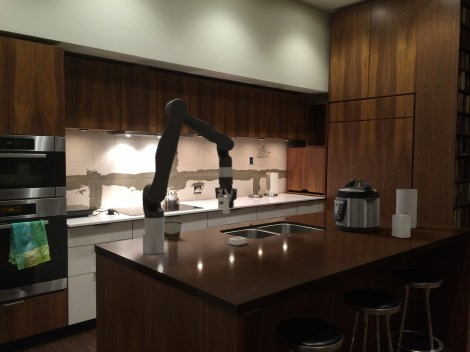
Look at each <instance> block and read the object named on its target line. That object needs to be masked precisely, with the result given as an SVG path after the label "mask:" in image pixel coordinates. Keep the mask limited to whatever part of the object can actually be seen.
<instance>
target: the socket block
mask: <svg viewBox="0 0 470 352" xmlns="http://www.w3.org/2000/svg"><path fill="white" fill-rule="evenodd" d="M247 238H248V237H243V236H234V237H229V238H228V245H229V244H230V246H234V245H235V247H238V246H239V247H240V246H242V245H246V243H247V244H248V239H247Z"/></svg>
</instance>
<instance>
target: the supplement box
mask: <svg viewBox="0 0 470 352" xmlns="http://www.w3.org/2000/svg"><path fill="white" fill-rule="evenodd" d="M391 220H392V221H391V236H393V237H396V238H400V239H402V238H411V229H412V228H411V216H409V215H403V214H397V215H396V214H392V216H391Z"/></svg>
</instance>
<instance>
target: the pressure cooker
mask: <svg viewBox="0 0 470 352" xmlns="http://www.w3.org/2000/svg"><path fill="white" fill-rule="evenodd" d="M356 183H359V184H360V185H361V186H354V185H355V184H356ZM335 195H336V196H335V198H334V204H333V218H334V220H335V224H336V225H335V226H336V227H337V228H338V229H339V230H342V231H347V232H353V233H365V232H367V233H368V232H376V231H378V230H379V227H380V226H381V194H380V191H379V190H377V189H374V188H373V187H372V185H371V184H369V183H367V182H365V181H364V180H360V179H354V180H353V179H352V180H351V181H348V182H346V183H345V186H344V187H343V188H339V189H337V193H336V194H335Z"/></svg>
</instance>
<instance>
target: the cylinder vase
mask: <svg viewBox="0 0 470 352" xmlns="http://www.w3.org/2000/svg"><path fill="white" fill-rule="evenodd" d="M395 197H396V201H395V202H396V206H395V207H396V208H395V215H397V214H403V215H409V216H411V228H410V229H415V228H417V214H418V213H417V212H418V211H417V209H418V189H414V188H412V189H411V188H396V196H395Z"/></svg>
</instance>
